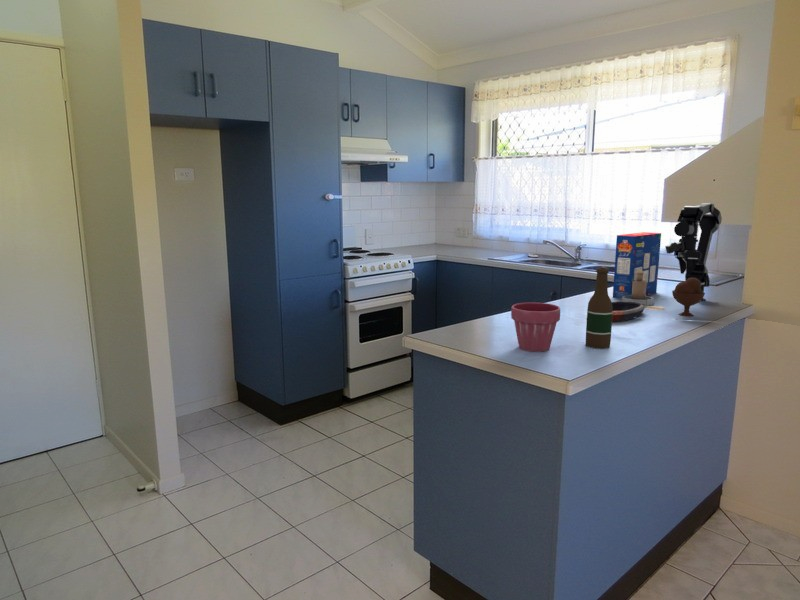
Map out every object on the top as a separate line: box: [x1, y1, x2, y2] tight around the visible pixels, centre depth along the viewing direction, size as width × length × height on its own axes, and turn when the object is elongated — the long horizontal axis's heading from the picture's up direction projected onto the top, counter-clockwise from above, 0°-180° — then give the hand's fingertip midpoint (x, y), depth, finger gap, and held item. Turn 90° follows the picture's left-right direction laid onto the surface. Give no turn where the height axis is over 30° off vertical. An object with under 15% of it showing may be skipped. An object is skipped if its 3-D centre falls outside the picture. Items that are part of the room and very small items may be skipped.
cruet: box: [631, 271, 647, 300], centre depth 243 cm, size 5×5×13 cm
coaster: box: [645, 305, 666, 311], centre depth 233 cm, size 7×7×1 cm
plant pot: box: [510, 301, 561, 353], centre depth 174 cm, size 14×14×13 cm
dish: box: [611, 300, 646, 323], centre depth 219 cm, size 16×31×5 cm, turn 129°
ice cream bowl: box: [671, 278, 706, 318], centre depth 218 cm, size 11×11×15 cm
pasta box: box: [612, 231, 662, 299], centre depth 262 cm, size 28×8×28 cm, turn 134°
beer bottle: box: [585, 267, 613, 350], centre depth 175 cm, size 8×8×24 cm
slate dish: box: [621, 295, 655, 306], centre depth 244 cm, size 12×12×3 cm
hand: (685, 274), depth 240 cm, fingers open, 9 cm apart
